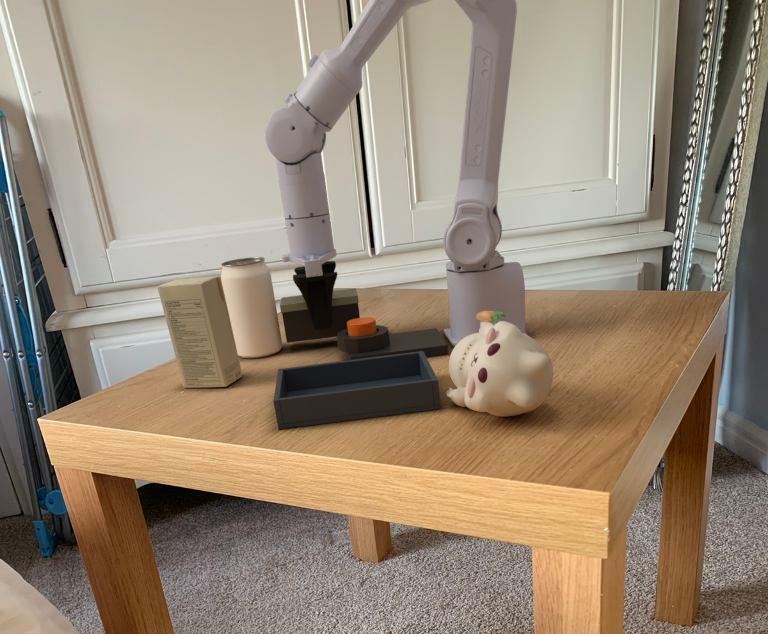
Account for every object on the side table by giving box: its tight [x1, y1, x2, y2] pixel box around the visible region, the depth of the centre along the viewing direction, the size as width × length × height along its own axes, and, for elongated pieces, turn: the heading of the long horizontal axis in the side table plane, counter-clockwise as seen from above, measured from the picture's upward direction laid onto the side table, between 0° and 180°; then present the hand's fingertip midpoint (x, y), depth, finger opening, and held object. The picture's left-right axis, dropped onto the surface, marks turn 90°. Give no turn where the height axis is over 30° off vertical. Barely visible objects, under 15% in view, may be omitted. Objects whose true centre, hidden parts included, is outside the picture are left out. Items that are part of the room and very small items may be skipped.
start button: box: [347, 316, 377, 336], centre depth 94 cm, size 4×4×2 cm
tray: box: [272, 351, 441, 430], centre depth 79 cm, size 16×11×3 cm
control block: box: [336, 324, 449, 360], centre depth 95 cm, size 13×9×3 cm
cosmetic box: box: [157, 275, 243, 389], centre depth 89 cm, size 6×4×12 cm
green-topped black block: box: [279, 287, 361, 344], centre depth 101 cm, size 10×5×5 cm, turn 95°
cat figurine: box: [445, 311, 554, 417], centre depth 71 cm, size 10×8×15 cm
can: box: [220, 256, 283, 360], centre depth 100 cm, size 6×6×12 cm
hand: (322, 323), depth 101 cm, fingers closed on green-topped black block, 5 cm apart
